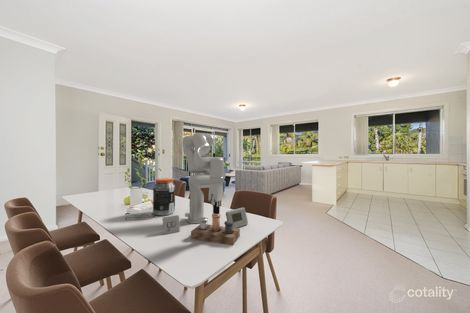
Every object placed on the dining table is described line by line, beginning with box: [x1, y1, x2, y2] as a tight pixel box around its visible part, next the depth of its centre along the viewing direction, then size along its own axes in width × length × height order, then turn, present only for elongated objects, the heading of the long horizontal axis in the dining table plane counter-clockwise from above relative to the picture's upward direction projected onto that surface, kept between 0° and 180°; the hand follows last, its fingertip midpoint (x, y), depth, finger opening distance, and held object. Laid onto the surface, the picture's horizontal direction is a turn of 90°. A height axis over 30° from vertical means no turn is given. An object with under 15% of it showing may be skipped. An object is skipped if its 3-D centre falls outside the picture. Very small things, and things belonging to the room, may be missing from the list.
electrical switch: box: [162, 214, 181, 235], centre depth 114 cm, size 9×5×9 cm, turn 122°
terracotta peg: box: [211, 213, 221, 232], centre depth 107 cm, size 5×5×9 cm
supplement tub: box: [152, 177, 176, 216], centre depth 148 cm, size 16×16×26 cm
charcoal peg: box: [224, 220, 233, 234], centre depth 104 cm, size 5×5×9 cm
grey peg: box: [199, 217, 209, 230], centre depth 109 cm, size 5×5×9 cm
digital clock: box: [225, 207, 249, 229], centre depth 124 cm, size 16×9×11 cm, turn 121°
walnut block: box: [190, 223, 241, 247], centre depth 107 cm, size 24×12×4 cm, turn 72°
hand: (216, 213), depth 107 cm, fingers closed
